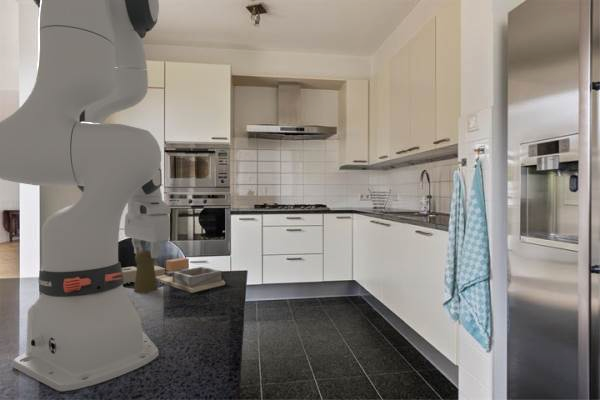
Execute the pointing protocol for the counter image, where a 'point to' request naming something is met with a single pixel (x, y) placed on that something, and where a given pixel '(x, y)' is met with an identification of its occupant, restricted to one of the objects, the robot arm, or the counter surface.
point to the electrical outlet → (130, 273)
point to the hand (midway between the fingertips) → (145, 255)
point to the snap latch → (177, 264)
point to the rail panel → (192, 279)
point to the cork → (145, 273)
